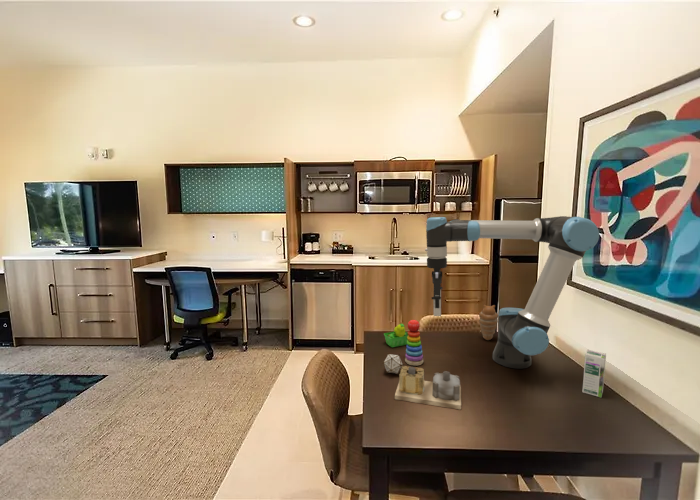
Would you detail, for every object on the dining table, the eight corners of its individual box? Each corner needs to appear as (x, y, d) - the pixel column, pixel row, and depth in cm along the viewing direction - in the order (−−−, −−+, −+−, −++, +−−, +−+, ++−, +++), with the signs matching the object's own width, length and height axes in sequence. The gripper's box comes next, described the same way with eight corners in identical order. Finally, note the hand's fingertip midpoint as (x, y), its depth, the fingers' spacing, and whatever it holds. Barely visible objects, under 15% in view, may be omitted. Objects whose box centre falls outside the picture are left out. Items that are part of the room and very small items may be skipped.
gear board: (460, 389, 125) (461, 366, 124) (460, 409, 113) (461, 384, 112) (400, 381, 132) (400, 358, 131) (394, 399, 120) (394, 374, 118)
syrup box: (581, 392, 122) (584, 353, 120) (584, 386, 127) (587, 348, 125) (601, 398, 119) (604, 358, 117) (603, 391, 123) (606, 352, 121)
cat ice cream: (496, 338, 173) (498, 303, 171) (497, 343, 166) (499, 307, 163) (478, 335, 176) (479, 301, 174) (478, 341, 169) (479, 306, 167)
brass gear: (402, 380, 129) (402, 365, 128) (424, 383, 127) (424, 368, 126) (398, 391, 121) (398, 375, 121) (422, 395, 119) (422, 378, 118)
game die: (396, 380, 140) (410, 360, 140) (392, 382, 132) (407, 361, 132) (379, 365, 143) (393, 346, 143) (374, 367, 135) (389, 346, 136)
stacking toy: (422, 358, 151) (423, 317, 149) (424, 366, 143) (425, 323, 141) (404, 357, 152) (404, 317, 149) (405, 366, 144) (405, 323, 142)
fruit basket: (402, 339, 173) (402, 317, 171) (412, 345, 165) (413, 323, 163) (383, 343, 168) (383, 321, 167) (392, 350, 160) (392, 326, 159)
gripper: (428, 252, 145) (428, 301, 148) (425, 262, 122) (426, 320, 124) (446, 252, 144) (446, 301, 146) (447, 262, 120) (448, 321, 122)
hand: (437, 310), depth 135 cm, fingers open, 13 cm apart
